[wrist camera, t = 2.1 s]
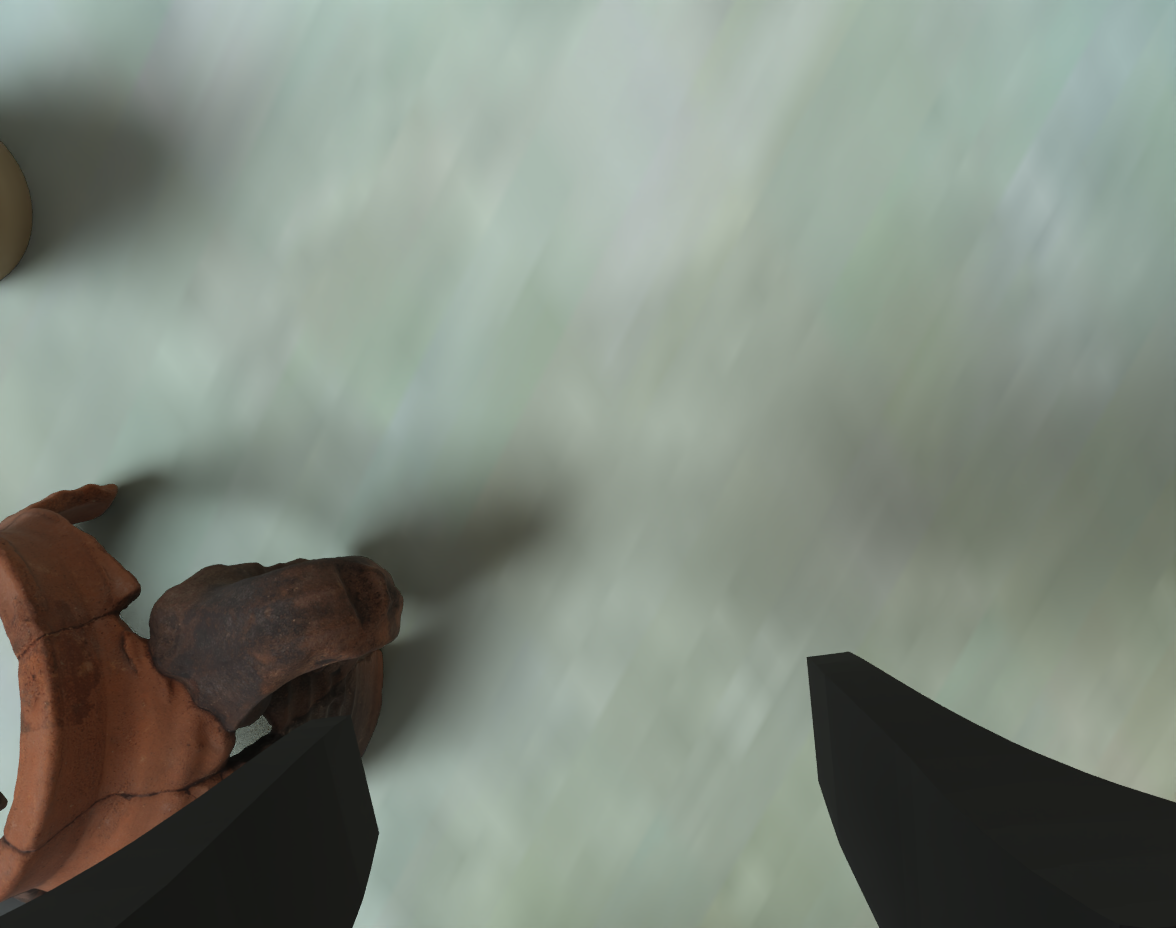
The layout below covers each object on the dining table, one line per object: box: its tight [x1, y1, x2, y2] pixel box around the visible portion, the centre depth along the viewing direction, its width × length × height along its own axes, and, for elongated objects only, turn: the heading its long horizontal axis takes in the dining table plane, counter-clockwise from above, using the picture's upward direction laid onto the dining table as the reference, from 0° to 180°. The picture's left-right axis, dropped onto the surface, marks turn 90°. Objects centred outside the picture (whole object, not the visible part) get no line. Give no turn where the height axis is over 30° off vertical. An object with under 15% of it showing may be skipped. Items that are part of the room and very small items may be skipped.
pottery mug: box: [0, 484, 403, 903], centre depth 18 cm, size 12×10×8 cm
